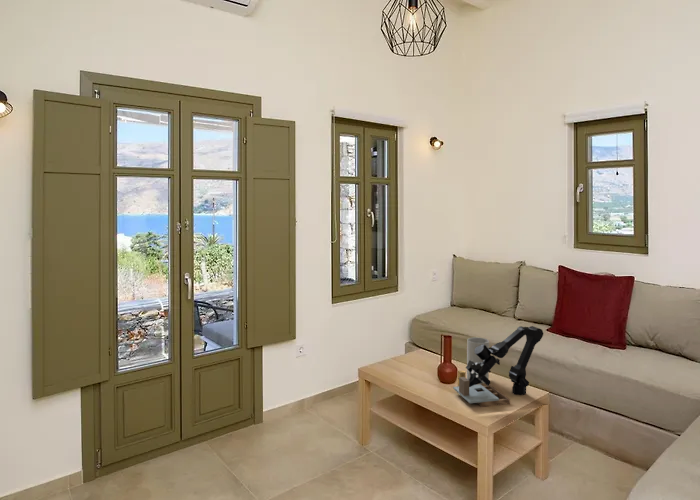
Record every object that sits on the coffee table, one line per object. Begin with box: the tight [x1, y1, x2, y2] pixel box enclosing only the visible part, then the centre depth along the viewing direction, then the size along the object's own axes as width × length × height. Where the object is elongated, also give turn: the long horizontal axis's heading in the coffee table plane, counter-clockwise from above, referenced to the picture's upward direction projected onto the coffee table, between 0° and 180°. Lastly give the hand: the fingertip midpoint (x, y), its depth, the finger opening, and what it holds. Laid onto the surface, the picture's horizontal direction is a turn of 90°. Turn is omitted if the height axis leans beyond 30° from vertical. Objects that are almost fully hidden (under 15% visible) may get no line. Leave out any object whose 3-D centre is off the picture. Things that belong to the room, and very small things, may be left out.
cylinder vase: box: [466, 337, 490, 385], centre depth 283 cm, size 12×12×25 cm
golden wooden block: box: [457, 370, 467, 386], centre depth 273 cm, size 3×3×10 cm
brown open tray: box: [476, 384, 511, 408], centre depth 257 cm, size 16×20×4 cm
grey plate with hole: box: [452, 377, 499, 404], centre depth 255 cm, size 16×20×9 cm
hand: (467, 386), depth 254 cm, fingers closed, pressing on grey plate with hole
